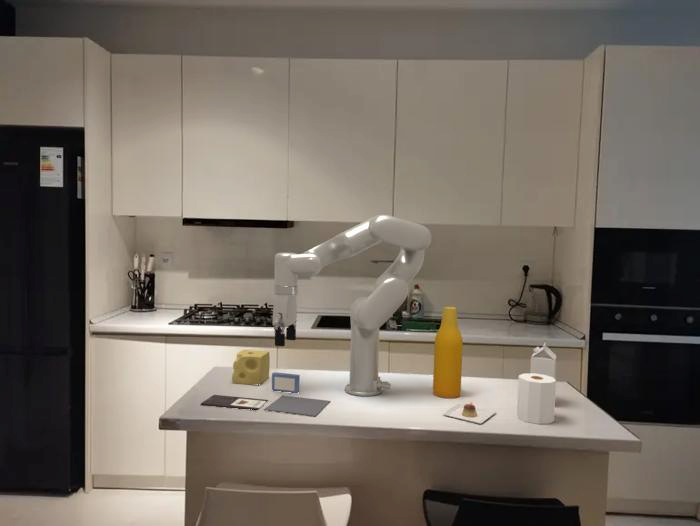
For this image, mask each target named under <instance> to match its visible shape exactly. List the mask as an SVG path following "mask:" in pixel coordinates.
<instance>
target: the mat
mask: <svg viewBox="0 0 700 526" xmlns="http://www.w3.org/2000/svg"><path fill="white" fill-rule="evenodd" d="M328 403H329V404H330V403H331V401H330V400H326V399H319V398H318V399H316V398H309V397H301V396H291V395H283V394H282V395H281V396H279V397H278V398H277V399H275V400H274V401H272V402H271V403H270V404H269V405H268V406H266V407H265V408H264V409H263V411H264V410H268V411H267V412H272V411H276V412H275V413H280V412H285V413H284V414H288V413H292V414H291V415H296V414H299V415H298V416H304V415H306V417H312V416H313V418H316V417H317V416H318V415H319V414H320V413H321V412H322V411H323V410H324V409H325V408H326V407H327V406H328V405H329V404H328ZM327 404H328V405H327ZM326 405H327V406H326ZM325 406H326V407H325ZM324 407H325V408H324ZM323 408H324V409H323Z"/></svg>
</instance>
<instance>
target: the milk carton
mask: <svg viewBox="0 0 700 526" xmlns="http://www.w3.org/2000/svg"><path fill="white" fill-rule="evenodd" d="M546 343H547V342H546V341H545V342H544V343H543V346H542V347H539V346H536V347H535V348H533V350H532V351H533V353H532V355H531V357H530V370H529V371H530V373H535V374H542V375H547V376H550V377H553V378H554V379H555V380H556V373H557V372H556V369H557V354H555V353H554V352H553V351H552V350H551V348H549V347H548V346H547V344H546Z"/></svg>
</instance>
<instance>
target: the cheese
mask: <svg viewBox="0 0 700 526" xmlns="http://www.w3.org/2000/svg"><path fill="white" fill-rule="evenodd" d="M270 358H271V357H270V351H269V350H268V351H267V350H253V349H242V350H240V351H239V352H237V354H236V359H235V360H234V361H233V365H232V368H233V372H232V375H231V381H232V384H233V383H237V385H250V384H258V385H257V386H260V385H259V384H261V383H262V384H263V383H264V382H265V381H267V380H268V379H269V377H270V365H271V364H270V363H271V361H270V360H271V359H270ZM262 384H261V385H262Z"/></svg>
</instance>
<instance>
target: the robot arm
mask: <svg viewBox="0 0 700 526" xmlns="http://www.w3.org/2000/svg"><path fill="white" fill-rule="evenodd" d="M382 242H385V243H388V244H391V245H394V246H398V247H400V251H399V253H398V255H397V257H396V259H394V261H393V262H391V264H390V266H388V268H386V270H384V272H383V273H382V274H380V276H379V277H378V278H377V279H376V280H375V283H374V284H373V292H371V294H370V295H369V296H366V295H365V296H360V297H358V298H356V299H355V300H354V301H353V303H352V305H351V306H350V313H349V314H350V316H349V317H350V357H349V383H347V384H346V385H345V386H344V391H345V392H346V393H347V394H350V395H354V396H358V397H359V396H360V397H371V396H377V395H380V394H381V393H383V389H385V390H390V389H391V386H392V385H391V383H390V382H389V381H387V380H385V381H384V380H381V376H379V367H380V365H379V361H380V360H379V359H380V328H381V327H382V326H383V325H384V324H385V323H386V322H387V321H388V320H389V319H390V318H391V317H392V315H393V314H395V313H396V312H397V310H399V308H400V307H401V305H403V303H404V302H405V300H406V299H407V297H408V294H409V286H408V285H409V284H410V283H411V282H412V280H413V279H414V278H415V277H416V275H417V274H418V273H419V271H420V270H421V269H422V266H423V264H424V261H425V260H424V259H425V250H426V249H427V248H428V247H429V246H430V244H431V243H432V234H431V231H430V230H429V229H428V228H427V227H426V226H425V225H422V224H419V223H416V222H412V221H410V220H406V219H402V218H399V217H395V216H392V215H390V214H378V215H374V216H372V217H370V218H368V219H366V220H364V221H363V222H361V223H359V224H357V225H355V226H353V227H351V228H348V229H347V230H344V231H343V232H340V233H339V234H337V235H335V236H334V237H332V238H330V239H328V240H326V241H324V242H322V243H320V244H318V245H317V246H314V247H312V248H311V249H308V250H306V251H304V252H303V253H295V252H278V253H276V254H275V255H274V281H273V282H274V287H273V288H274V301H273V306H272V307H273V310H272V325H273V329H274V346H275V347H285V344H286V342H285V341H286V340H287V341H296V339H297V334H296V333H297V320H298V319H297V317H298V313H297V312H298V309H297V308H298V307H297V306H298V305H297V296H299V295H298V294H299V293H298V291H299V288H298V287H299V286H298V285H299V279H298V278H299V277H298V276H299V275H300V276H307V277H314V276H316V275H318V274H319V273H320V272H321V270H322V269H323V268H324V267H327V266H328V265H330V264H332V263H335V262H337V261H340V260H342V259H348V258H352V257H354V256H356V255H359V254H360V253H362V252H364V251H366V250H367V249H369V248H371V247H373V246H376V245H377V244H380V243H382ZM285 330H286V331H285ZM285 338H286V339H285Z"/></svg>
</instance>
